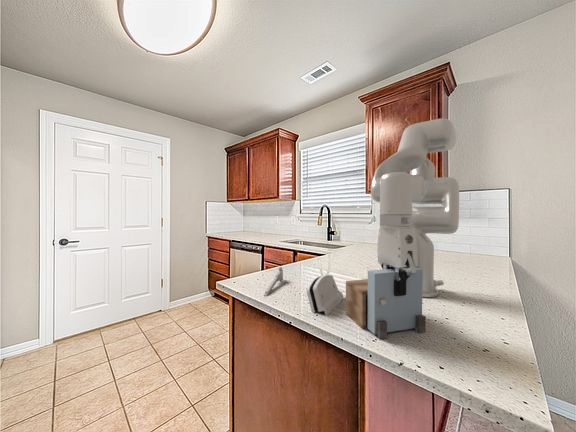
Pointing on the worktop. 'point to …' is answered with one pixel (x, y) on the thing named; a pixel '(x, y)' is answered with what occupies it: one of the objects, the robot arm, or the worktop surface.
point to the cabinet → (359, 308)
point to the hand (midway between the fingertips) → (395, 292)
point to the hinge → (323, 294)
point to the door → (393, 300)
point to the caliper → (277, 278)
